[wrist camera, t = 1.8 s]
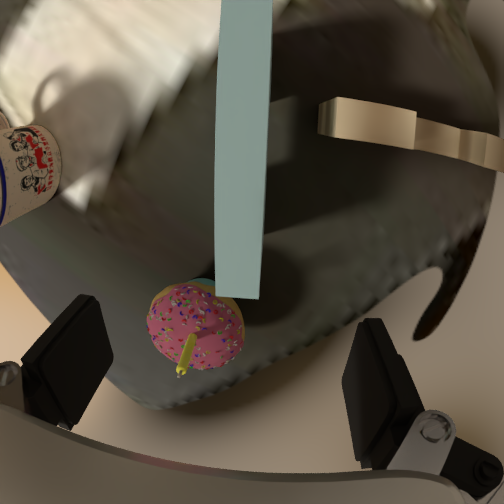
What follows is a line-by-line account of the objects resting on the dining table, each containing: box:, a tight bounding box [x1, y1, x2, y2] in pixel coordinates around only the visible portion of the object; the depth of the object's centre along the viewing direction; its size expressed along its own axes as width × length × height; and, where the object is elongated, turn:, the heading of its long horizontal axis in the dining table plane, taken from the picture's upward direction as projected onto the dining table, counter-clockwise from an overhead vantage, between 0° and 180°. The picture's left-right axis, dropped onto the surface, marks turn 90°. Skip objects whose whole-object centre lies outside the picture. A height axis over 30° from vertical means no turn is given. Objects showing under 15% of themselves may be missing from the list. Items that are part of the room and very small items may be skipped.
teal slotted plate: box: [215, 0, 273, 299], centre depth 18 cm, size 16×2×10 cm, turn 178°
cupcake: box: [147, 278, 245, 378], centre depth 24 cm, size 9×8×12 cm
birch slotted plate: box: [317, 97, 504, 173], centre depth 18 cm, size 16×2×7 cm, turn 88°
